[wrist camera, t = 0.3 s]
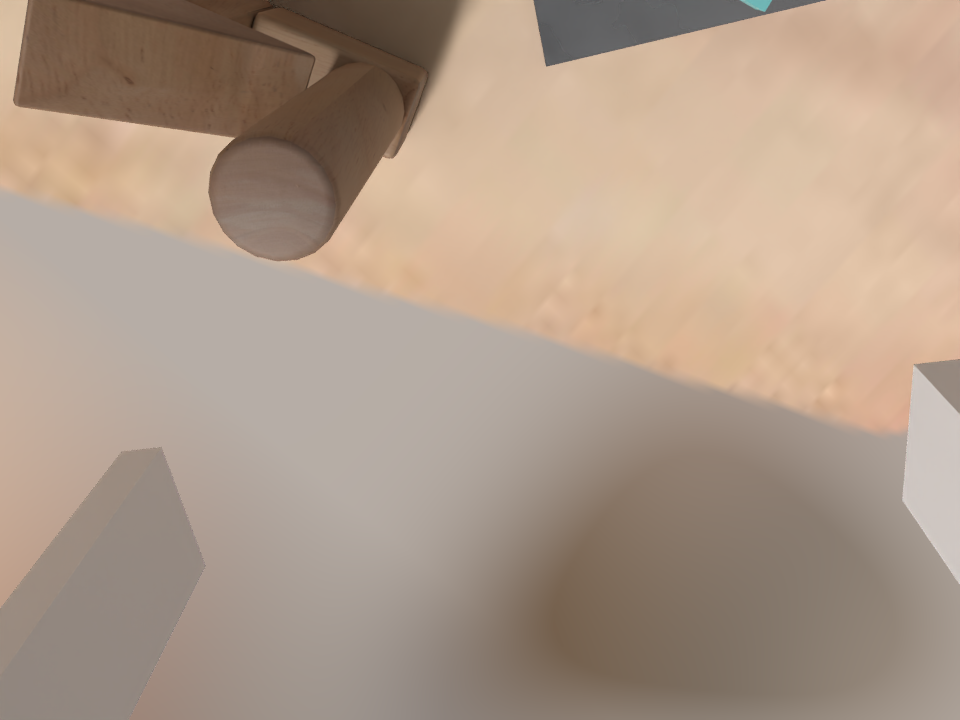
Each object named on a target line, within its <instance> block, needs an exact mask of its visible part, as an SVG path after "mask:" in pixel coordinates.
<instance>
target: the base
mask: <svg viewBox="0 0 960 720" xmlns="http://www.w3.org/2000/svg"><path fill="white" fill-rule="evenodd" d="M820 1H825V0H772V1H771V3H770V4H769V6H768V8H767V9H766V11H765V12H763V11H760V10H757V9H754V8H752V7H751V6H749V5H747V4H745V3H744V2H742V1H740V0H534V5H535V10H536V15H537V20H538V26H539V31H540V36H541V42H542V47H543V52H544V57H545V63H546V66H550V65H555V64H559V63H563V62H567V61H572V60H576V59H580V58H584V57H588V56H593V55H597V54H601V53H605V52H610V51H614V50H618V49H622V48H626V47H631V46H635V45H639V44H643V43H647V42H652V41H656V40H660V39H664V38H669V37H673V36H677V35H681V34H685V33H690V32H694V31H698V30H702V29H707V28H711V27H715V26H719V25H723V24H728V23H732V22H736V21H740V20H745V19H749V18H753V17H757V16H761V15H766V14H770V13H774V12H778V11H782V10H787V9H791V8H795V7H799V6H804V5H808V4H812V3H816V2H820Z"/></svg>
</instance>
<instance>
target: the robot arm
mask: <svg viewBox="0 0 960 720" xmlns="http://www.w3.org/2000/svg"><path fill="white" fill-rule="evenodd" d="M902 500H903V502H904V503H905V505H906V506H907V508H908V509H909V511H910V512H911V514H912V515H913V517H914V518H915V519H916V521H917V522H918V524H919V525H920V527H921V528H922V530H923V531H924V533H925V534H926V536H927V537H928V539H929V540H930V541H931V543H932V544H933V546H934V547H935V549H936V550H937V552H938V553H939V555H940V556H941V558H942V559H943V561H944V562H945V564H946V565H947V567H948V568H949V569H950V571H951V572H952V574H953V575H954V577H955V578H956V580H957V581H958V583H959V584H960V359H958V360H949V361H940V362H931V363H922V364H914V367H913V379H912V391H911V403H910V415H909V427H908V439H907V452H906V463H905V475H904V486H903V499H902ZM204 568H205V562H204V560H203V557H202V554H201V552H200V549H199V546H198V544H197V541H196V538H195V536H194V533H193V530H192V528H191V525H190V522H189V520H188V517H187V514H186V511H185V509H184V506H183V503H182V501H181V498H180V495H179V493H178V490H177V487H176V485H175V482H174V479H173V476H172V474H171V471H170V469H169V466H168V464H167V461H166V458H165V455H164V452H163V450H162V447H159V448H150V449H142V450H132V451H124V452H121V454H120V455H119V456H118V457H117V459H116V460H115V461H114V462H113V464H112V465H111V466H110V468H109V469H108V470H107V472H106V473H105V474H104V475H103V477H102V478H101V479H100V480H99V482H98V483H97V484H96V486H95V487H94V488H93V489H92V491H91V492H90V493H89V495H88V496H87V497H86V498H85V500H84V501H83V502H82V504H81V505H80V506H79V508H78V509H77V510H76V511H75V513H74V514H73V515H72V517H71V518H70V519H69V521H68V522H67V523H66V524H65V526H64V527H63V528H62V529H61V531H60V532H59V533H58V535H57V536H56V537H55V539H54V540H53V541H52V542H51V544H50V545H49V546H48V547H47V549H46V550H45V551H44V553H43V554H42V555H41V557H40V558H39V559H38V560H37V562H36V563H35V564H34V566H33V567H32V568H31V569H30V571H29V572H28V573H27V575H26V576H25V577H24V579H23V580H22V581H21V583H20V584H19V585H18V586H17V587H16V589H15V590H14V591H13V593H12V594H11V595H10V597H9V598H8V599H7V600H6V602H5V603H4V604H3V606H2V607H1V608H0V720H129V718H130V716H131V714H132V712H133V710H134V708H135V706H136V704H137V702H138V700H139V698H140V696H141V694H142V692H143V690H144V688H145V686H146V684H147V682H148V680H149V678H150V676H151V674H152V672H153V670H154V668H155V666H156V664H157V662H158V660H159V658H160V656H161V654H162V652H163V650H164V648H165V646H166V644H167V642H168V640H169V638H170V636H171V634H172V632H173V630H174V628H175V626H176V624H177V622H178V620H179V618H180V616H181V614H182V612H183V610H184V608H185V606H186V604H187V602H188V600H189V598H190V596H191V594H192V592H193V590H194V588H195V586H196V584H197V582H198V580H199V578H200V576H201V574H202V572H203V570H204Z"/></svg>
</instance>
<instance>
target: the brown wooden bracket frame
mask: <svg viewBox="0 0 960 720" xmlns="http://www.w3.org/2000/svg"><path fill="white" fill-rule="evenodd" d="M427 78H428V75H427V71H426V70H425V69H424V68H422V67H420V66H417V65H415V64H413V63H410V62H408V61H406V60H403V59H401V58H399V57H396V56H394V55H392V54H389V53H387V52H385V51H382V50H380V49H378V48H375V47H373V46H371V45H368V44H366V43H364V42H361V41H359V40H357V39H354V38H352V37H350V36H347V35H345V34H343V33H340V32H338V31H336V30H333V29H331V28H329V27H326V26H324V25H322V24H319V23H317V22H315V21H312V20H310V19H308V18H305V17H303V16H301V15H298V14H296V13H294V12H292V11H289V10H287V9H285V8H273V6H272V5H271V4H270V3H269V2H268V1H266V0H28V5H27V12H26V19H25V25H24V32H23V38H22V45H21V52H20V58H19V65H18V72H17V78H16V85H15V91H14V98H13V101H14V104H15V105H16V106H19V107H25V108H31V109H38V110H45V111H52V112H59V113H66V114H73V115H80V116H87V117H94V118H101V119H108V120H115V121H122V122H129V123H136V124H143V125H150V126H157V127H164V128H171V129H178V130H185V131H192V132H199V133H206V134H213V135H220V136H227V137H234V138H235V139H234V140H232V141H231V142H230V143H229V144H228V145H227V146H226V147H225V148H224V149H223V150H222V151H221V152H220V153H219V154H218V156H217V159H216V161H215V163H214V165H213V167H212V170H211V172H210V181H209V192H208V193H209V197H210V201H211V206H212V210H213V214H214V216H215V218H216V219H217V221H218V223H219V225H220V226H221V228H222V230H223V232H224V233H225V234H226V235H227V236H228V237H229V238H230V239H231V240H232V241H233V242H234V243H235V244H236V245H237V246H238V247H240V248H242V249H244V250H246V251H247V252H249V253H251V254H253V255H255V256H257V257H261V258H266V259H270V260H274V261H287V260H298V259H300V258H303V257H305V256H308V255H310V254H313V253H315V252H316V251H317V250H318V249H320V248H321V247H322V246H323V245H324V244H325V243H326V242H328V241H329V240H330V238H331V236H332V235H333V233H334V232H335V230H336V229H337V227H338V225H339V224H340V222H341V221H342V219H343V218H344V216H345V215H346V213H347V211H348V210H349V208H350V207H351V205H352V204H353V202H354V200H355V199H356V197H357V196H358V194H359V193H360V191H361V189H362V188H363V186H364V185H365V183H366V182H367V180H368V179H369V177H370V175H371V174H372V172H373V171H374V169H375V168H376V166H377V164H378V163H379V161H380V160H381V158H382V157H385V158H394V157H395V156H396V154H397V153H398V151H399V149H400V148H401V146H402V144H403V142H404V141H405V138H406V136H407V133H408V130H409V127H410V125H411V122H412V119H413V116H414V114H415V111H416V108H417V105H418V103H419V100H420V97H421V94H422V92H423V89H424V86H425V83H426V81H427Z"/></svg>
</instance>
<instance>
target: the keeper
mask: <svg viewBox="0 0 960 720" xmlns="http://www.w3.org/2000/svg"><path fill="white" fill-rule="evenodd" d="M740 1H742V2H744V3H745V4H747V5H749V6H751V7H752V8H754V9H757V10H760V11H763V12H765V11H766V9H767V8H768V6H769V4H770V3H771V1H772V0H740Z"/></svg>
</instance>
